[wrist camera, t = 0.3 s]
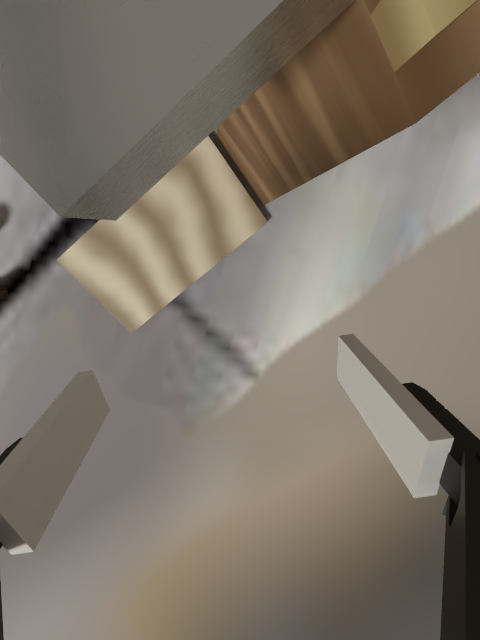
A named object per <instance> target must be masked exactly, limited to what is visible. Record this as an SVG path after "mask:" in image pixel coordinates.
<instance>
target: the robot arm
mask: <svg viewBox="0 0 480 640" xmlns="http://www.w3.org/2000/svg"><path fill="white" fill-rule="evenodd" d="M337 379H338V380H339V382H340V383H341V385H342V387H343V388H344V389H345V391H346V393H347V394H348V396H349V397H350V399H351V401H352V402H353V403H354V405H355V407H356V408H357V410H358V411H359V413H360V414H361V416H362V417H363V419H364V421H365V422H366V424H367V425H368V427H369V428H370V430H371V432H372V433H373V435H374V436H375V438H376V439H377V441H378V442H379V444H380V445H381V447H382V449H383V450H384V452H385V453H386V455H387V456H388V458H389V460H390V461H391V462H392V464H393V466H394V467H395V469H396V470H397V472H398V474H399V475H400V477H401V478H402V480H403V481H404V483H405V484H406V486H407V487H408V489H409V491H410V492H411V494H412V495H413V497H414V498H417V497H425V496H431V495H436V494H437V491H438V488H439V485H440V484H441V486H442V487H443V488H444V489H445V491H446V492H447V493H448V495H449V496H448V499H447V502H446V505H445V508H444V510H443V513H442V514H443V515H445V516H446V530H445V551H444V552H445V553H444V572H443V594H442V614H441V636H440V640H480V440H479V439H478V438H477V437H476V436H475V435H474V434H473V433H472V432H470V431H469V430H468V429H467V428H466V427H465V426H464V425H463V424H462V423H461V422H460V421H459V420H458V419H457V418H455V417H454V416H453V415H452V414H451V413H450V412H449V411H448V410H447V409H445V408H444V406H443V405H442V404H440V403H439V402H438V401H436V399H435V398H434V397H433V396H432V395H431V394H430V393H429V392H428V391H427V390H425V389H423V388H422V387H420V386H418V385H416V384H414V383H405V384H401V383H400V382H399V381H398V380H397V379H396V378H395V377H394V376H393V375H392V374H391V373H390V371H389V370H388V369H387V368H386V367H385V366H384V365H383V364H382V363H381V362H380V361H379V360H378V359H377V358H376V357H375V356H374V355H373V354H372V353H371V352H370V351H369V350H368V349H367V348H366V347H365V346H364V345H363V344H362V343H361V342H360V341H359V340H358V339H357V338H356V337H355V336H354V335H353V334H349V335H342V336H339V340H338V364H337ZM109 411H110V408H109V406H108V403H107V402H106V399H105V397H104V394H103V392H102V390H101V388H100V386H99V383H98V381H97V379H96V377H95V374H94V372H93V370H91V371H84V372H78V373H77V374H76V376H75V377H74V378H73V379H72V380H71V382H70V383H69V384H68V385H67V386H66V388H65V389H64V390H63V391H62V393H61V394H60V395H59V396H58V397H57V398H56V399H55V401H54V402H53V403H52V404H51V405H50V407H49V408H48V409H47V410H46V411H45V412H44V414H43V415H42V416H41V417H40V418H39V420H38V421H37V422H36V423H35V424H34V426H33V427H32V428H31V429H30V430H29V432H28V433H27V434H26V435H25V436H24V437H23V438H20V439H18V440H17V441H16V442H15V443H13V444H12V445H11V446H10V447H8V448H7V449H6V450H5V451H4V452H3V453H2V454H1V456H0V548H1V547H2V545H3V546H4V547H5V548H6V549H7V551H8V552H9V553H10V554H11V555H13V554H19V553H27V552H33V551H34V550H35V548H36V546H37V544H38V542H39V541H40V539H41V537H42V535H43V533H44V531H45V530H46V528H47V526H48V524H49V522H50V520H51V518H52V517H53V515H54V513H55V511H56V509H57V507H58V505H59V504H60V502H61V500H62V498H63V496H64V494H65V492H66V491H67V489H68V487H69V485H70V483H71V481H72V480H73V477H74V476H75V474H76V472H77V470H78V468H79V467H80V465H81V463H82V461H83V459H84V457H85V455H86V454H87V452H88V450H89V448H90V446H91V444H92V442H93V440H94V439H95V437H96V435H97V433H98V431H99V429H100V427H101V426H102V424H103V422H104V420H105V418H106V416H107V415H108V413H109ZM0 640H4V639H3V620H2V601H1V582H0Z"/></svg>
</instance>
